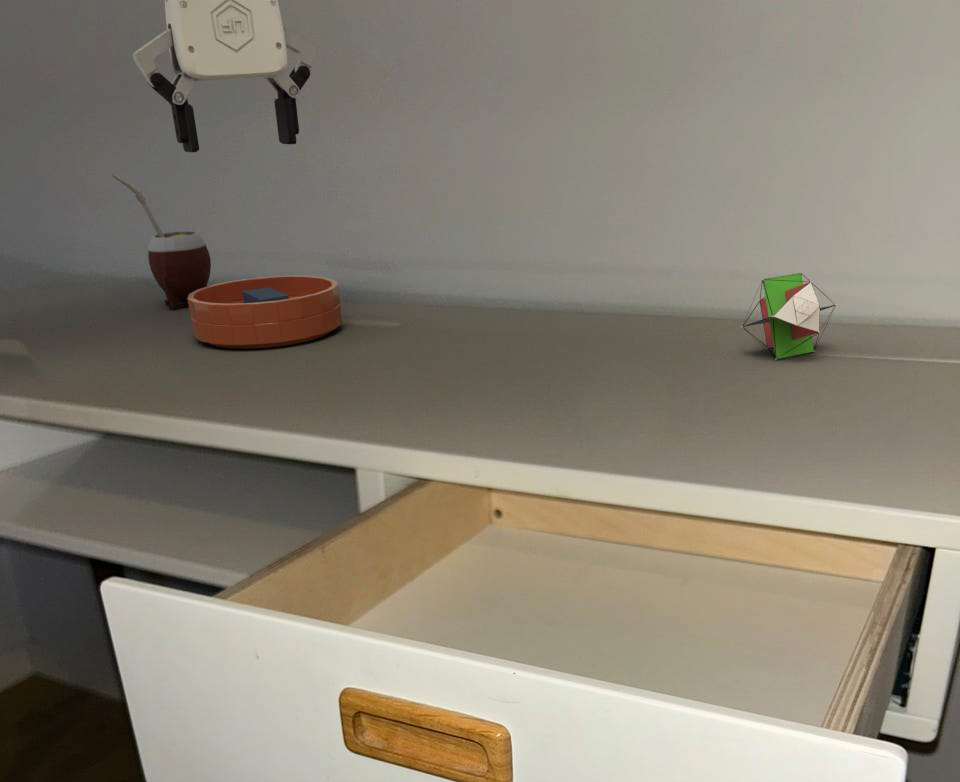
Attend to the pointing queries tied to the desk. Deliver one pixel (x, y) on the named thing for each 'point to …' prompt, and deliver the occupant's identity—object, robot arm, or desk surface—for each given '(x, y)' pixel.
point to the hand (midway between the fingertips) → (240, 147)
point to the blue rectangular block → (263, 295)
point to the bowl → (265, 312)
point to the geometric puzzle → (789, 315)
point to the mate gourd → (175, 259)
